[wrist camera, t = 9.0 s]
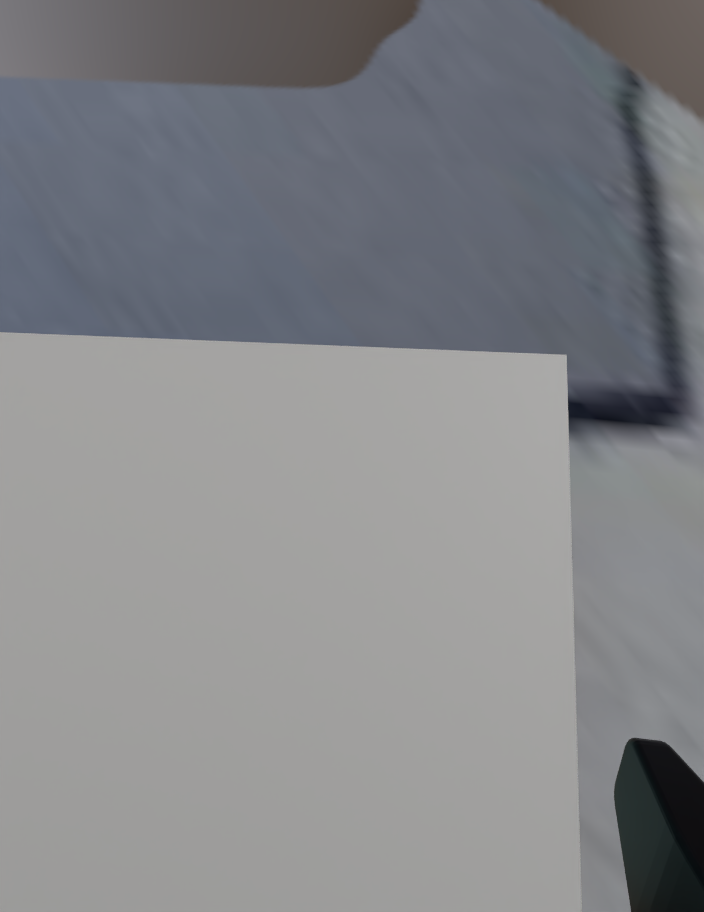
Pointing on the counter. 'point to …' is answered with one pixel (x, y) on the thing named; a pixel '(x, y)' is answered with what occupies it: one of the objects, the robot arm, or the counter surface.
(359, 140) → the counter surface
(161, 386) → the tea tin
